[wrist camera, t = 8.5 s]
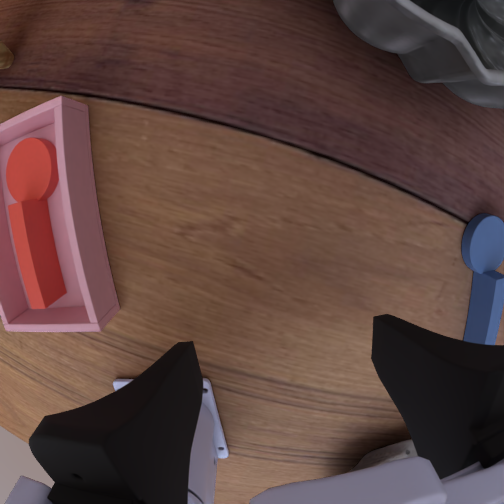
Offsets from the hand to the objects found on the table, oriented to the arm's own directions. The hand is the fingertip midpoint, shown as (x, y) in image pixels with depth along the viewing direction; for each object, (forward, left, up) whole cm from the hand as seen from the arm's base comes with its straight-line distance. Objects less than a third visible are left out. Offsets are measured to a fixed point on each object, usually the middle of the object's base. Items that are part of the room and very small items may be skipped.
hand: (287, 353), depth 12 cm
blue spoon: (-3, -17, -8) cm, 19 cm away
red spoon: (+6, +15, -8) cm, 18 cm away
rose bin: (+6, +15, -8) cm, 18 cm away
